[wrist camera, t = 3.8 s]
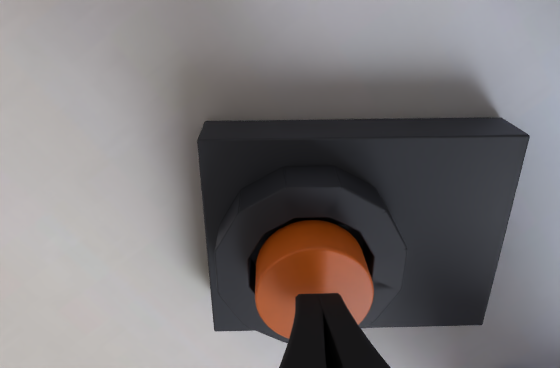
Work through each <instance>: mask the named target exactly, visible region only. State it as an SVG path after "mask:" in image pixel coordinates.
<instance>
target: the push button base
mask: <svg viewBox="0 0 560 368" xmlns="http://www.w3.org/2000/svg"><path fill="white" fill-rule="evenodd" d="M528 141H529V135H528V134H527V133H525V132H524V131H522V130H520V129H519V128H517V127H516V126H514V125H512V124H511V123H509V122H508V121H506V120H504V119H503V118H427V119H349V120H270V121H206V122H205V123H204V125H203V128H202V130H201V133H200V135H199V138H198V140H197V144H198V155H199V166H200V177H201V188H202V200H203V211H204V222H205V233H206V244H207V255H208V266H209V277H210V289H211V300H212V311H213V322H214V330H215V331H251V330H256V331H258V332H261V333H263V334H266V335H268V336H270V337H273V338H275V339H278V340H280V341H283V342H286V343H288V341H289V339H288V338H285V337H283V336H281V335H279V334H278V333H276V332H274V331H273V330H272V329H271V328H269V327H268V326H267V325H266V324H265V322H264V321H263V320H262V318H261V317H260V315H259V313H258V311H257V307H256V303H255V281H256V261H257V256H258V253H259V251H260V249H261V247H262V245H263V244H264V243H265V241H266V240H267V239H268V238H269V237H270V236H271V235H272V234H273V233H275V232H276V231H277V230H279V229H280V228H282V227H284V226H286V225H289V224H291V223H294V222H298V221H304V220H321V221H327V222H330V223H333V224H336V225H338V226H340V227H342V228H344V229H345V230H347V231H348V232H349V233H350V234H351V235H352V236H353V237H354V238H355V239H356V240H357V242H358V243H359V245H360V247H361V249H362V252H363V255H364V258H365V261H366V264H367V267H368V269H369V272H370V275H371V278H372V282H373V286H374V297H373V302H372V305H371V308H370V310H369V312H368V314H367V315H366V317H365V318H364V320H363V321H362V322H361V323H360V324H359V327H360V328H376V327H418V326H460V325H482V324H483V320H484V316H485V312H486V308H487V304H488V300H489V296H490V292H491V288H492V284H493V280H494V276H495V272H496V268H497V264H498V260H499V256H500V252H501V248H502V244H503V240H504V236H505V232H506V228H507V224H508V220H509V216H510V212H511V208H512V205H513V201H514V197H515V193H516V189H517V185H518V181H519V177H520V173H521V169H522V165H523V161H524V157H525V153H526V149H527V145H528Z"/></svg>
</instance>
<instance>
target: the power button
mask: <svg viewBox="0 0 560 368" xmlns="http://www.w3.org/2000/svg"><path fill="white" fill-rule="evenodd" d="M315 293H338V294H340V295H341V297H342V299H343V301H344V302H345V304H346V306H347V308H348V309H349V311H350V313H351V314H352V316H353V318H354V319H355V321H356V322H357V324H358V325H359V324H360V323H361V322H362V321H363V320H364V318H365V317H366V315H367V314H368V312H369V310H370V308H371V305H372V302H373V297H374V286H373V282H372V278H371V275H370V272H369V269H368V267H367V264H366V261H365V258H364V255H363V252H362V249H361V247H360V245H359V243H358V242H357V240H356V239H355V238H354V237H353V236H352V235H351V234H350V233H349V232H348V231H347V230H345V229H344V228H342V227H340V226H338V225H336V224H333V223H330V222H327V221H321V220H304V221H298V222H294V223H291V224H289V225H286V226H284V227H282V228H280V229H279V230H277V231H276V232H275V233H273V234H272V235H271V236H270V237H269V238H268V239H267V240H266V241H265V243H264V244H263V245H262V247H261V249H260V251H259V253H258V256H257V261H256V281H255V303H256V307H257V311H258V313H259V315H260V317H261V318H262V320H263V321H264V322H265V324H266V325H267V326H268V327H269V328H271V329H272V330H273V331H274V332H276V333H278V334H279V335H281V336H283V337H285V338H288V339H289V338H290V334H291V330H292V326H293V322H294V317H295V297H296V296H297V295H298V294H315Z"/></svg>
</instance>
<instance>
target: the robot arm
mask: <svg viewBox="0 0 560 368" xmlns="http://www.w3.org/2000/svg"><path fill="white" fill-rule="evenodd" d="M279 368H390V366H389V365H388V364H387V363H386V362H385V360H384V359H383V358H382V357H381V355H380V354H379V353H378V352H377V350H376V349H375V348H374V346H373V345H372V344H371V342H370V341H369V340H368V338H367V337H366V335H365V334H364V333H363V331H362V330H361V328H360V327H359V325H358V324H357V322H356V321H355V319H354V318H353V316H352V314H351V313H350V311H349V309H348V308H347V306H346V304H345V302H344V301H343V299H342V297H341V295H340V294H338V293H315V294H298V295H297V296H296V297H295V317H294V322H293V326H292V330H291V334H290V338H289V341H288V345H287V348H286V350H285V353H284V356H283V359H282V362H281V364H280V367H279Z"/></svg>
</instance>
